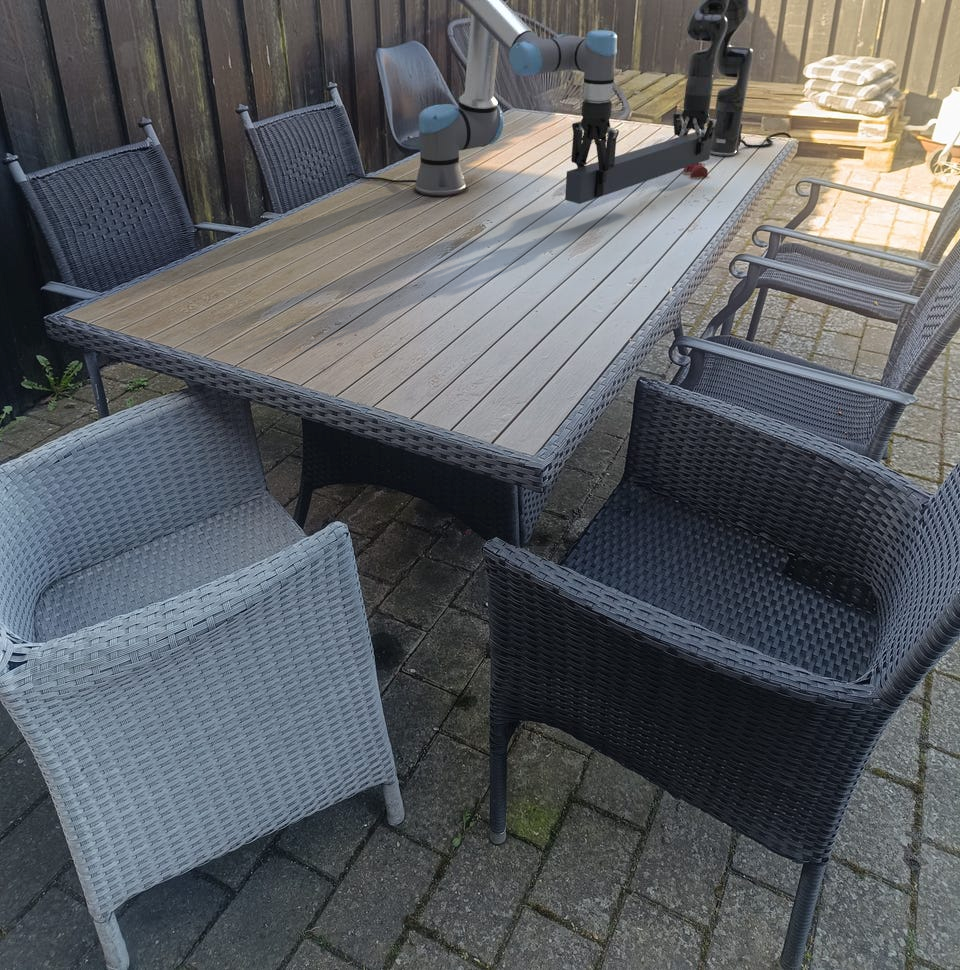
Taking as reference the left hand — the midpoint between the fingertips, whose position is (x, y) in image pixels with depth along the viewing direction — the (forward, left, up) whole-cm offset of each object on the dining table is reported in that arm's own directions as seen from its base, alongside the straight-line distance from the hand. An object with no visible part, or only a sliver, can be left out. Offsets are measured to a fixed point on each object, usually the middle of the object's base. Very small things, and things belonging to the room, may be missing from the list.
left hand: (590, 193), depth 226 cm
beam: (+2, +24, -1) cm, 24 cm away
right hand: (+5, +48, +2) cm, 48 cm away
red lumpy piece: (0, +63, -9) cm, 64 cm away
